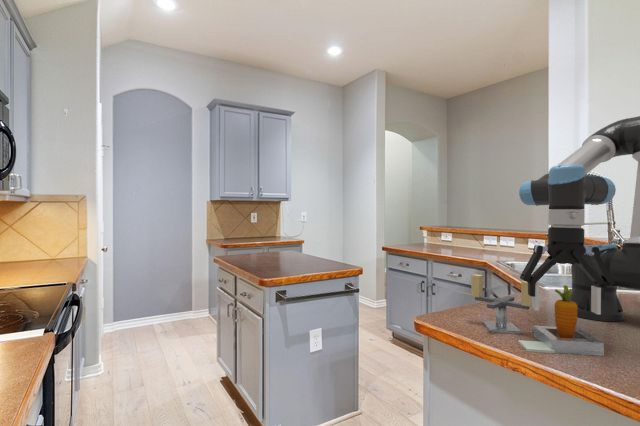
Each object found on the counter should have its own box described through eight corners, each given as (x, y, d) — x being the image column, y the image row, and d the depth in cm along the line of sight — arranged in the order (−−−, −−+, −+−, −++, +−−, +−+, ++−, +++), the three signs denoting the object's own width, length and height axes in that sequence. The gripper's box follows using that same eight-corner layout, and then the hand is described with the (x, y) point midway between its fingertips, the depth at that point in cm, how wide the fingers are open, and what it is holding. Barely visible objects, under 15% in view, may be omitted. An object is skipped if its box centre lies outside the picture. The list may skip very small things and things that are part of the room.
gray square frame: (579, 339, 93) (579, 328, 93) (603, 356, 82) (603, 343, 82) (533, 336, 95) (533, 325, 95) (551, 352, 84) (551, 339, 84)
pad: (543, 344, 90) (543, 341, 90) (554, 353, 84) (554, 350, 84) (518, 342, 91) (518, 340, 91) (527, 351, 85) (527, 348, 85)
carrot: (571, 350, 85) (571, 289, 85) (549, 344, 90) (549, 285, 90) (582, 347, 88) (582, 287, 88) (561, 340, 92) (561, 283, 92)
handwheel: (461, 303, 103) (461, 277, 103) (483, 295, 113) (483, 272, 113) (522, 315, 91) (522, 286, 91) (541, 305, 100) (541, 279, 100)
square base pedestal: (511, 325, 105) (511, 301, 105) (521, 334, 97) (521, 308, 97) (482, 323, 107) (482, 300, 107) (489, 332, 99) (489, 307, 99)
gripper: (517, 226, 87) (516, 311, 87) (633, 228, 83) (632, 318, 82) (507, 225, 95) (506, 304, 95) (613, 227, 90) (612, 310, 90)
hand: (565, 311), depth 89 cm, fingers open, 13 cm apart
